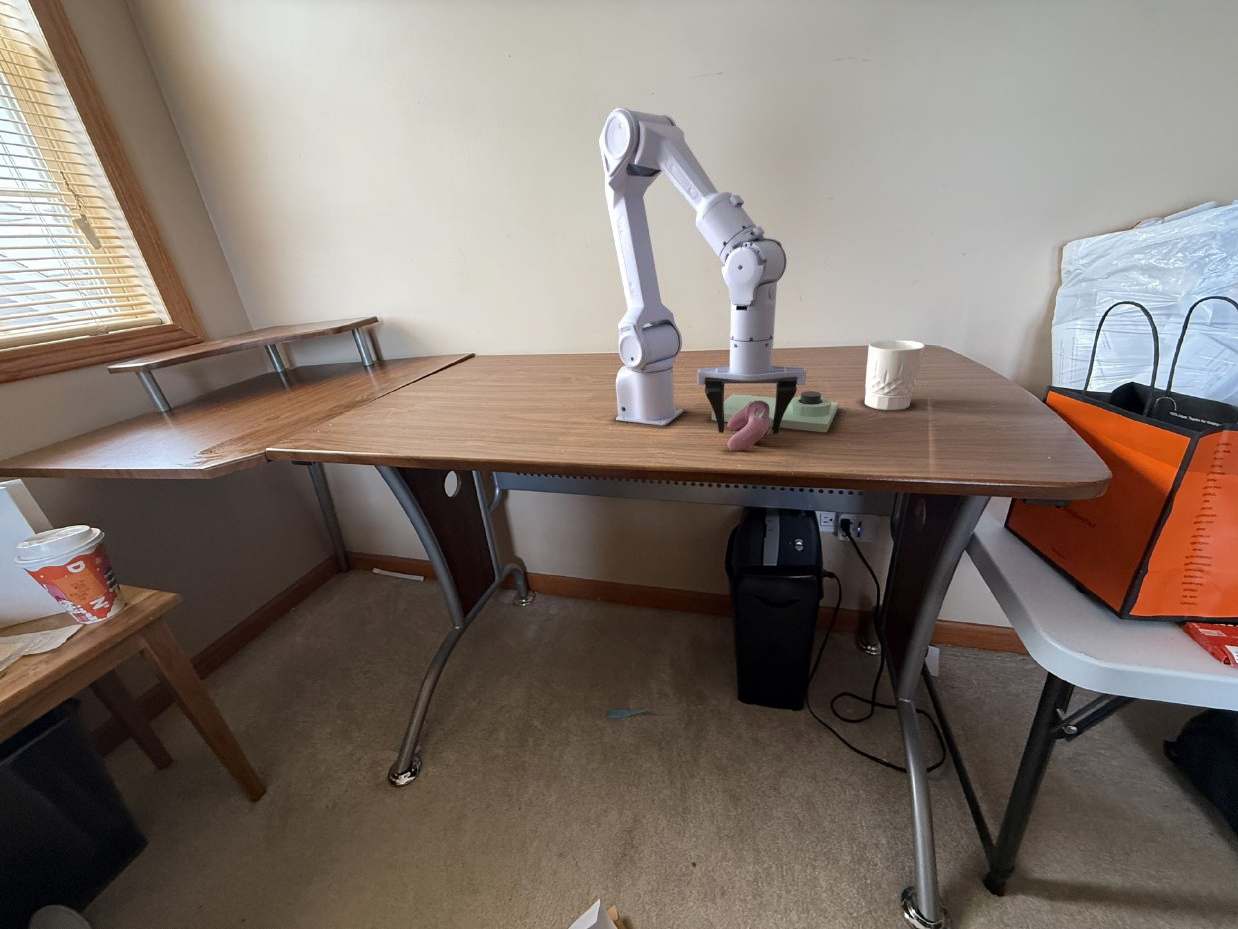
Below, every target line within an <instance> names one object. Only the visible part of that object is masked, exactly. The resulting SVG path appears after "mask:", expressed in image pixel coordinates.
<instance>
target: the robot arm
mask: <svg viewBox="0 0 1238 929" xmlns="http://www.w3.org/2000/svg"><path fill="white" fill-rule="evenodd" d="M598 143H599V148H600V153H601V159H602V164H603V169H604V175H605V176H604V177H605V178H604V192H605V198H606V203H607V207H608V213H609V220H610V223H611V228H612V234H613V239H614V244H615V245H614V246H615V250H616V255H617V259H618V260H617V261H618V265H619V271H620V276H621V281H622V287H623V292H624V297H625V302H626V307H627V311H626V312H625V314H624V316H623V317H622V318H621V320H620V321H619V323H618V325H617V328H618V334H619V335H618V337H619V338H618V353H619V357H620V359H621V361H622V363H623V364H624V365H623V366H622V367H621V368H620V369H619V370H618V372H617V374H616V380H615V388H616V389H615V391H616V404H617V415H618V416H616V417H615V418H616V419H615V420H616V421H618V422H619V421H620V422H629V423H636V424H645V425H651V426H661V427H664V426H665V427H666V426H667V425H668V424H669V423H671V422H672V421H673V420H674V419H676V418H677V417H679V416H680V415H681V414H682V413H684V409H683V408H677V407H675V388H674V386H675V383H674V364H676V357H678V356H679V354H680V353H681V350H682V347H683V336H682V334H681V331H680V330H679V328H678V326H677V324H676V322H675V316H674V313H673V311H672V310H670V308H668V307H667V306H666V305H665V304H663V303H662V299H661V292H660V287H659V280H658V275H657V268H656V263H655V257H654V251H653V246H652V241H651V234H650V229H649V223H648V218H647V212H646V205H645V200H644V197H645V196H644V195H645V193H646V192H647V190H648V188H649V187H651V186H652V184H653V183H654V182H655V181H656V179H657V178H658V177H659V176H660V175H661V174H662V173H664V175H665V176H666V177H667V178H668V179H669V181H671V183H672V184H673V186H675V187H676V189H677V190H678V192H680V194H682V196H683V197H684V198H685V199H686V201H687V202H688V203H689V204H690V205H691V206H692V208H693V209H694V210H695V211H696V217H695V226H696V228H697V229H698V231H699V233H700V234H701V235H702V237H703V238H704V239H705V241H706V242H707V243H708V245H709V246H710V248H711V249H712V250H713V252H714V253H715V254H716V255H717V256H716V257H718V258H719V260H720V261H721V262H722V264H723V265H724V266H722V267H721V274H722V277H723V280H724V283H725V285H726V286H727V288H728V291H729V292H728V293H729V301H730V332H729V335H730V336H729V338H730V339H729V366H717V367H708V368H706V367H705V368H704V367H703V368H699V369H698V370H697V385H698V386H704V394H705V396H706V398H707V400H708V402H709V403H710V406H711V408H712V412H713V411H714V413H715V417H716V420H717V421H716V420H715V421H716V423H717V429H718V434H723V433H724V431H725V422H726V421H725V420H724V401H725V384H727V385H728V384H729V385H730V384H732V385H733V384H738V385H739V384H742V385H743V384H747V385H748V384H749V385H750V384H755V385H756V384H776V387H775V391H776V392H775V398H776V405H775V413H774V419H773V427H772V435H779V430H780V427H779V426H780V423H781V420H782V418H783V415H784V413H785V411H786V409H787V407H788V405H789V404H790V402H791V400H792V399H793V398H795V395H796V393H797V386H805V385H806V377H807V369H806V367H796V366H795V367H794V366H780V365H773V356H774V339H775V325H776V324H775V322H776V305H777V291H778V290H777V287H778V285H777V284H778V282H779V280H781V279H782V278H783V276H784V274H785V272H786V268H787V263H788V262H787V254H786V251H785V249H784V248H783V244H782V243H781V241H780V240H778V239H775V238H771V237H765V236H764V234H765V232H766V231H765V230H764V228H762V226H758V225H757V224H756V223H755V222H754V221H753V219H752V218H751V217H750V215H749V214H748V213H747V211H746V210H745V209H744V208H743V205H744V204H745V201H744V200H743V198H742V197H741V196H740V195H737V194H733V193H732V192H729V191H722V192H719V191H718V189H717V188H716V187H715V185H714V184H713V182H712V180H711V179H710V177H709V176H708V174H707V172H706V171H705V169H704V168H703V166H702V165H701V163H700V162H699V161H698V159H697V157H696V155H695V154H694V153H693V151H692V149H691V147H689V145H688V143H687V142H686V139H685V132H684V131H683V129H681V128H680V127H679V126H678V125H677V124H676V121H675V120H674V119H673V118H672V117H671V116H669V115H667V114H654V113H648V112H643V111H637V110H631V109H629V108H627V107H616V108H614V109H613V110H612V111H611V112H610V114H609V115H608V116H607V119H606V121H605V124H604V126H603V128H602V131H601V133H600V136H599V138H598ZM647 324H649V325H648V326H646V325H647Z"/></svg>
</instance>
